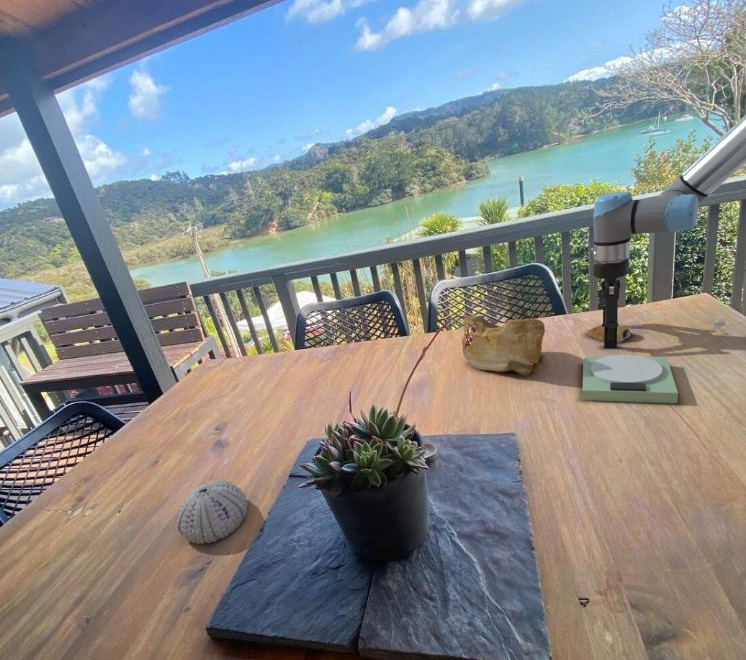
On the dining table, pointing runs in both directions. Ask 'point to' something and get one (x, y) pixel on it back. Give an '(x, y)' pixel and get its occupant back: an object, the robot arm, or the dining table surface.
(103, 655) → the dining table surface
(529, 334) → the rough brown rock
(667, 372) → the scale
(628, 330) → the pastry
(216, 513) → the sea urchin shell
